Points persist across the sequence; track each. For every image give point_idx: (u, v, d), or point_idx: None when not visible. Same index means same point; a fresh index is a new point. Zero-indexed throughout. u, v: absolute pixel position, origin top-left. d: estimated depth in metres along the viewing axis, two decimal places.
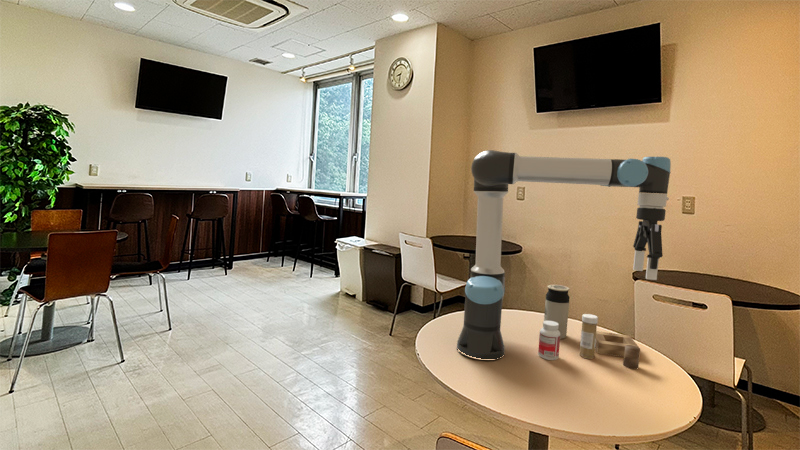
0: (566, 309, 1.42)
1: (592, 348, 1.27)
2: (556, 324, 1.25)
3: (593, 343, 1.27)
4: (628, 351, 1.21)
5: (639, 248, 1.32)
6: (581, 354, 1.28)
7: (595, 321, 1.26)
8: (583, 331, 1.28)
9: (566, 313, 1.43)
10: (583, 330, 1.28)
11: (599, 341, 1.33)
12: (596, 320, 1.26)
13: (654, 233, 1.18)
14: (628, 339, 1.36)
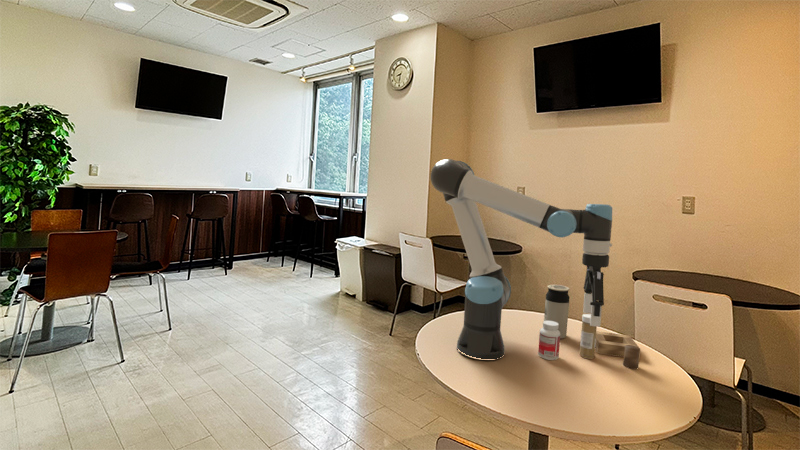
0: (566, 309, 1.42)
1: (592, 348, 1.27)
2: (556, 324, 1.25)
3: (593, 343, 1.27)
4: (628, 351, 1.21)
5: (588, 291, 1.34)
6: (581, 354, 1.28)
7: None
8: (583, 331, 1.28)
9: (566, 313, 1.43)
10: (583, 330, 1.28)
11: (599, 341, 1.33)
12: None
13: (596, 281, 1.20)
14: (628, 339, 1.36)
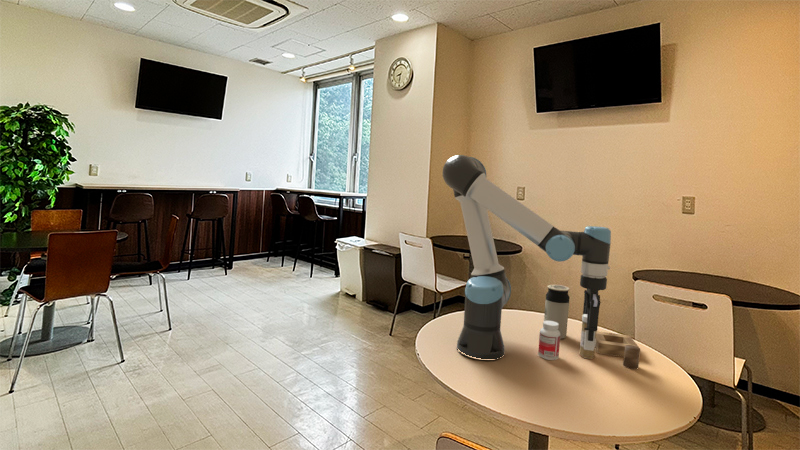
0: (566, 309, 1.42)
1: None
2: (556, 324, 1.25)
3: None
4: (628, 351, 1.21)
5: None
6: (581, 354, 1.28)
7: None
8: (583, 331, 1.28)
9: (566, 313, 1.43)
10: (583, 330, 1.28)
11: (599, 341, 1.33)
12: None
13: (592, 308, 1.22)
14: (628, 339, 1.36)
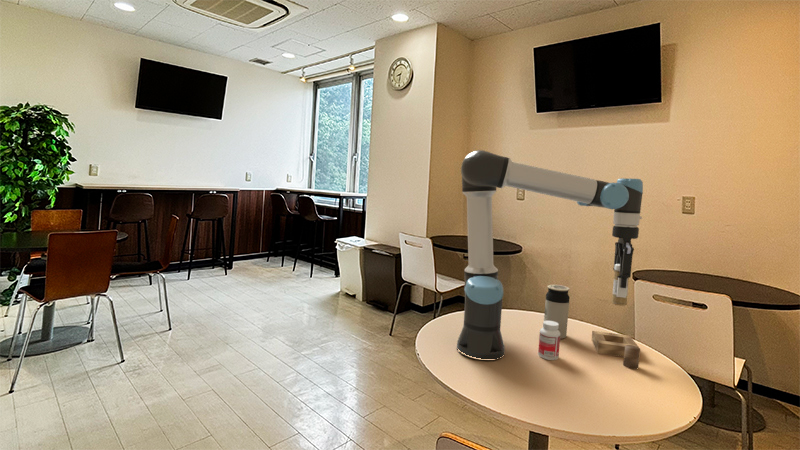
0: (566, 309, 1.42)
1: None
2: (556, 324, 1.25)
3: None
4: (628, 351, 1.21)
5: None
6: (614, 302, 1.34)
7: None
8: (616, 279, 1.33)
9: (566, 313, 1.43)
10: (616, 278, 1.33)
11: (599, 341, 1.33)
12: None
13: (626, 255, 1.27)
14: (628, 339, 1.36)
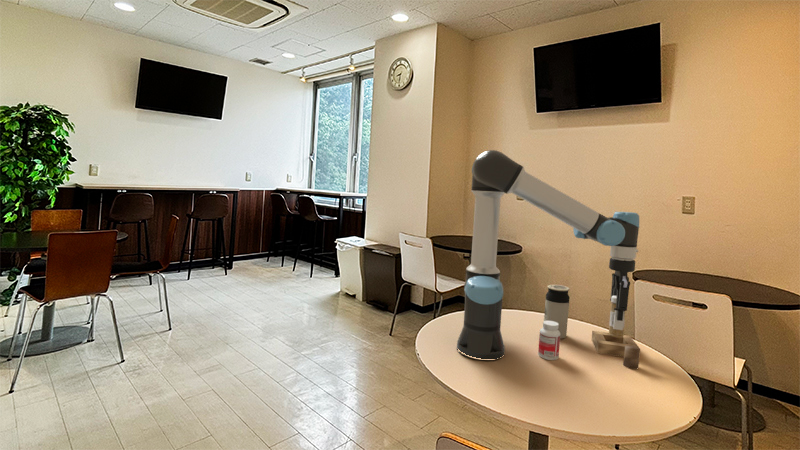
0: (566, 309, 1.42)
1: None
2: (556, 324, 1.25)
3: None
4: (628, 351, 1.21)
5: None
6: (610, 333, 1.35)
7: None
8: (612, 311, 1.34)
9: (566, 313, 1.43)
10: (612, 310, 1.34)
11: (599, 341, 1.33)
12: None
13: (622, 289, 1.28)
14: (628, 339, 1.36)
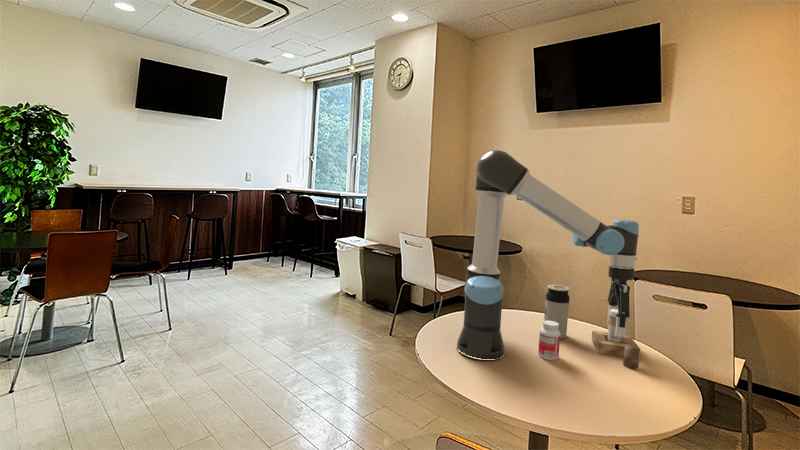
0: (566, 309, 1.42)
1: (619, 341, 1.34)
2: (556, 324, 1.25)
3: None
4: (628, 351, 1.21)
5: (613, 303, 1.41)
6: None
7: None
8: (611, 325, 1.34)
9: (566, 313, 1.43)
10: (611, 324, 1.34)
11: (599, 341, 1.33)
12: None
13: (623, 294, 1.27)
14: (628, 339, 1.36)
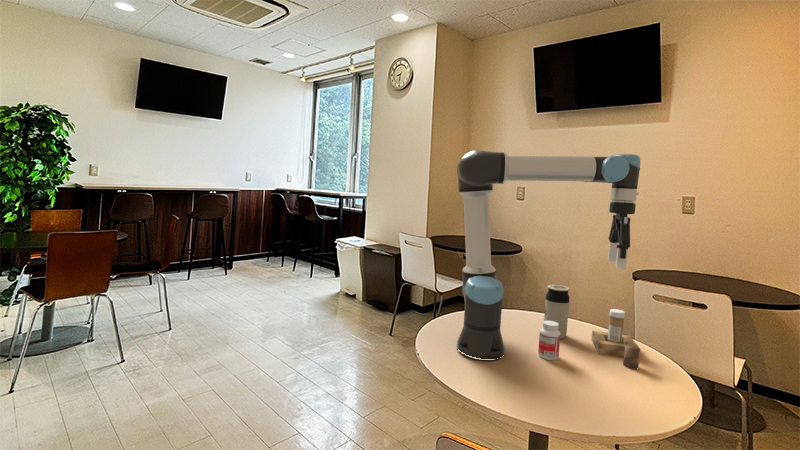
0: (566, 309, 1.42)
1: (619, 341, 1.33)
2: (556, 324, 1.25)
3: (620, 336, 1.33)
4: (628, 351, 1.21)
5: (613, 240, 1.41)
6: None
7: (622, 316, 1.33)
8: (611, 325, 1.34)
9: (566, 313, 1.43)
10: (611, 324, 1.34)
11: (599, 341, 1.33)
12: (623, 315, 1.33)
13: (623, 225, 1.27)
14: (628, 339, 1.36)
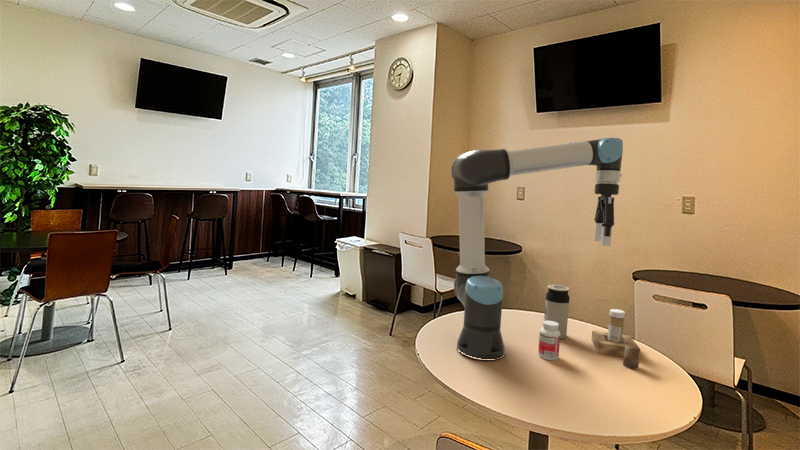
0: (566, 309, 1.42)
1: (619, 341, 1.34)
2: (556, 324, 1.25)
3: (620, 336, 1.33)
4: (628, 351, 1.21)
5: (599, 221, 1.49)
6: None
7: (623, 315, 1.33)
8: (611, 325, 1.34)
9: (566, 313, 1.43)
10: (611, 324, 1.34)
11: (599, 341, 1.33)
12: (623, 315, 1.33)
13: (607, 205, 1.34)
14: (628, 339, 1.36)
